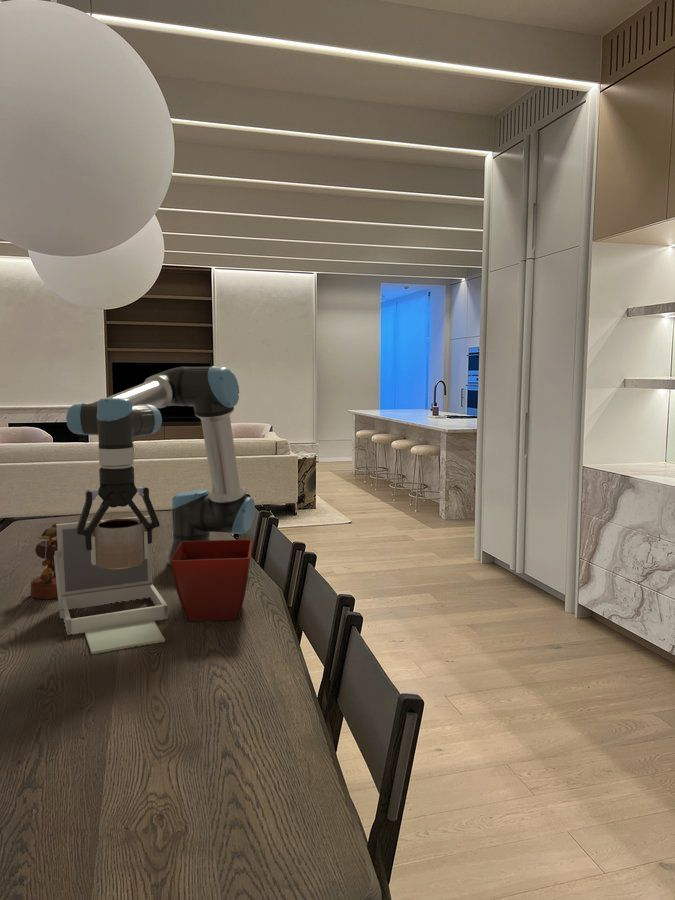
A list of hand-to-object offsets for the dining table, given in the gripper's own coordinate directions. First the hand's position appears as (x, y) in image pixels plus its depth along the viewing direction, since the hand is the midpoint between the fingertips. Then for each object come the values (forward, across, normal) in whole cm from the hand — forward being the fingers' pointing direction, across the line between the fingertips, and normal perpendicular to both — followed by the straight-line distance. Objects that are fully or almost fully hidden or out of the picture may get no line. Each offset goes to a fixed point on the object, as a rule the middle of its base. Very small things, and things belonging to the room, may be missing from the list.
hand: (119, 560), depth 157 cm
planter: (+1, 0, 0) cm, 1 cm away
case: (+18, 0, -16) cm, 25 cm away
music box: (+18, +13, -41) cm, 47 cm away
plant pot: (+19, -24, -6) cm, 31 cm away
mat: (+18, 0, 0) cm, 18 cm away
